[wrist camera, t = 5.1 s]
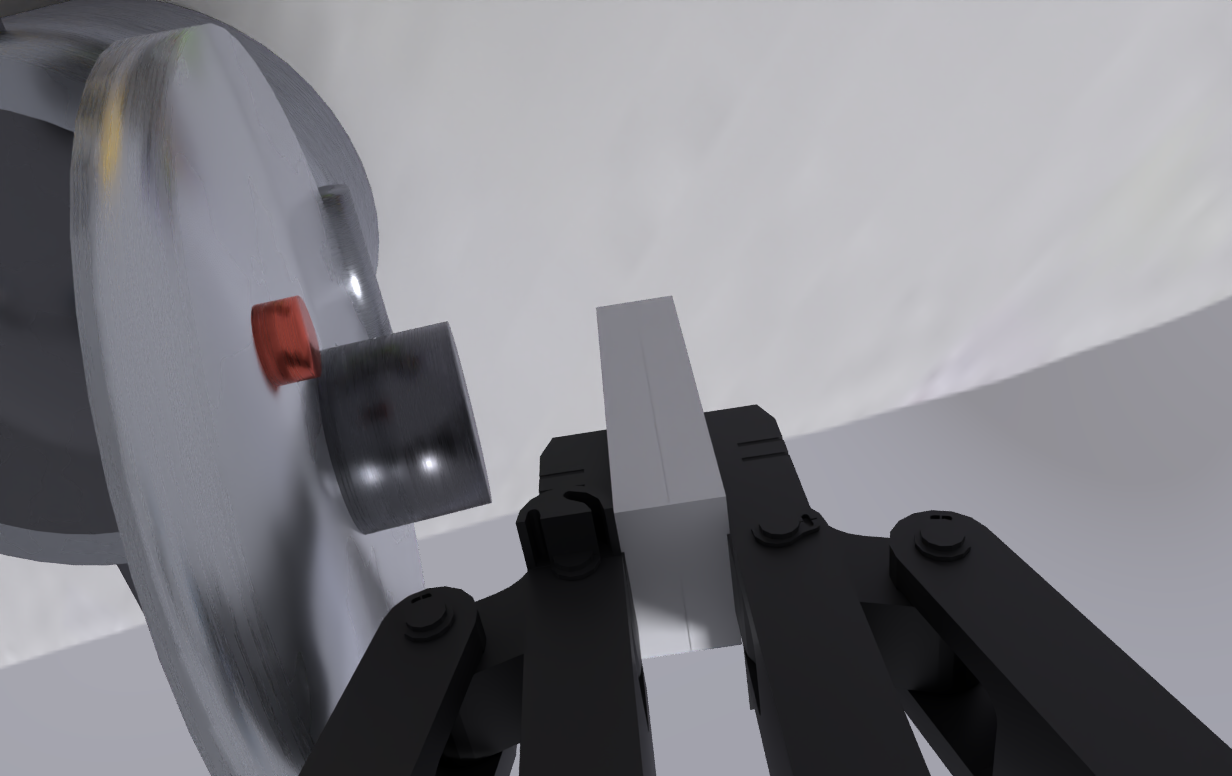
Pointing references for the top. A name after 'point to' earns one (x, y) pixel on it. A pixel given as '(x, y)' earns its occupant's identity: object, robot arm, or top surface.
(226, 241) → the lid
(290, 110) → the pot
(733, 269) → the top surface
